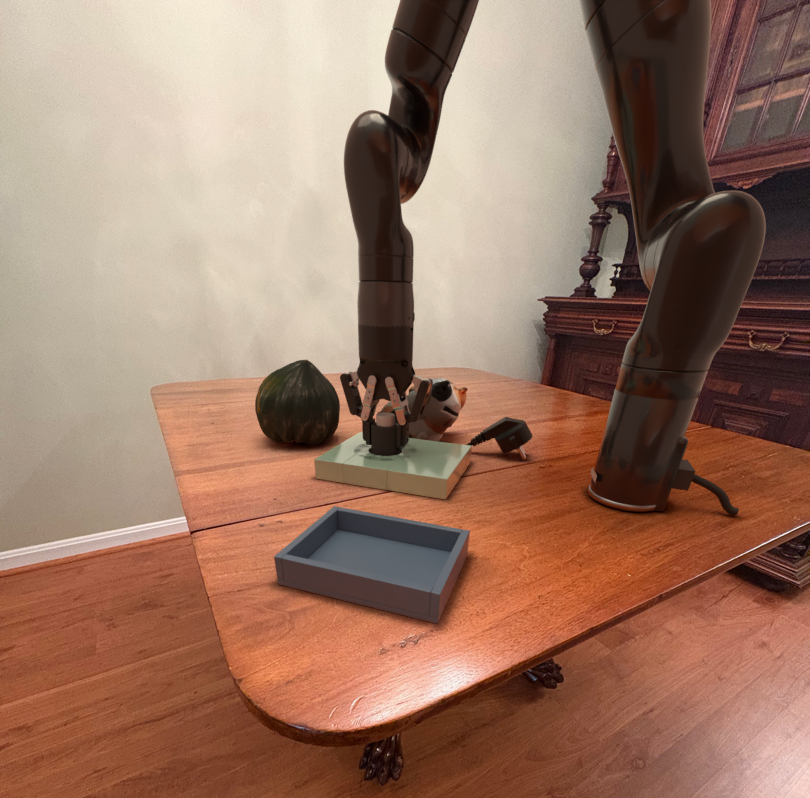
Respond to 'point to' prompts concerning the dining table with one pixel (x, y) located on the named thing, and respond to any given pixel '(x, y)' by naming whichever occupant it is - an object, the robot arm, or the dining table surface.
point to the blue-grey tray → (376, 562)
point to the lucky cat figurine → (434, 410)
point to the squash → (297, 405)
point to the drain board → (397, 466)
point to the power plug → (506, 435)
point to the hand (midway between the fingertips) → (385, 445)
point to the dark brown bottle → (384, 435)
